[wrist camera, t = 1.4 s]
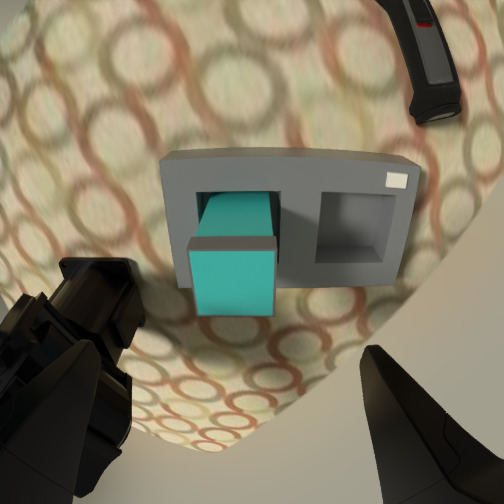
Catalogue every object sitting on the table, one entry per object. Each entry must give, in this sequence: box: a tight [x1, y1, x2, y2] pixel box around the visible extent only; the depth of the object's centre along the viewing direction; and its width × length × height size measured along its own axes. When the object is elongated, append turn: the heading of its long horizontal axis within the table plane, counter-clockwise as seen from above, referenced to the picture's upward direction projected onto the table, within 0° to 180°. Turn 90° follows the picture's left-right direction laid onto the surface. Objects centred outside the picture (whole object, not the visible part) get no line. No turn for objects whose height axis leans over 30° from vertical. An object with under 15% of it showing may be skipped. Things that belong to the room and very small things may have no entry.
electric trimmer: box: [377, 0, 462, 125], centre depth 10 cm, size 4×16×3 cm, turn 21°
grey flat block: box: [159, 147, 421, 288], centre depth 17 cm, size 14×8×3 cm, turn 91°
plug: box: [186, 191, 277, 317], centre depth 15 cm, size 3×3×7 cm
